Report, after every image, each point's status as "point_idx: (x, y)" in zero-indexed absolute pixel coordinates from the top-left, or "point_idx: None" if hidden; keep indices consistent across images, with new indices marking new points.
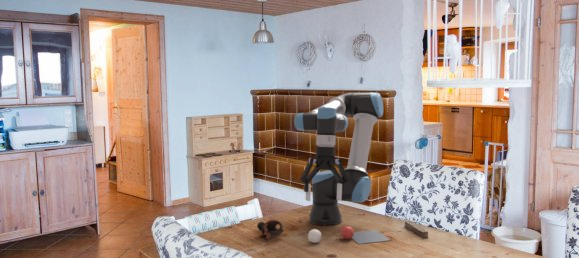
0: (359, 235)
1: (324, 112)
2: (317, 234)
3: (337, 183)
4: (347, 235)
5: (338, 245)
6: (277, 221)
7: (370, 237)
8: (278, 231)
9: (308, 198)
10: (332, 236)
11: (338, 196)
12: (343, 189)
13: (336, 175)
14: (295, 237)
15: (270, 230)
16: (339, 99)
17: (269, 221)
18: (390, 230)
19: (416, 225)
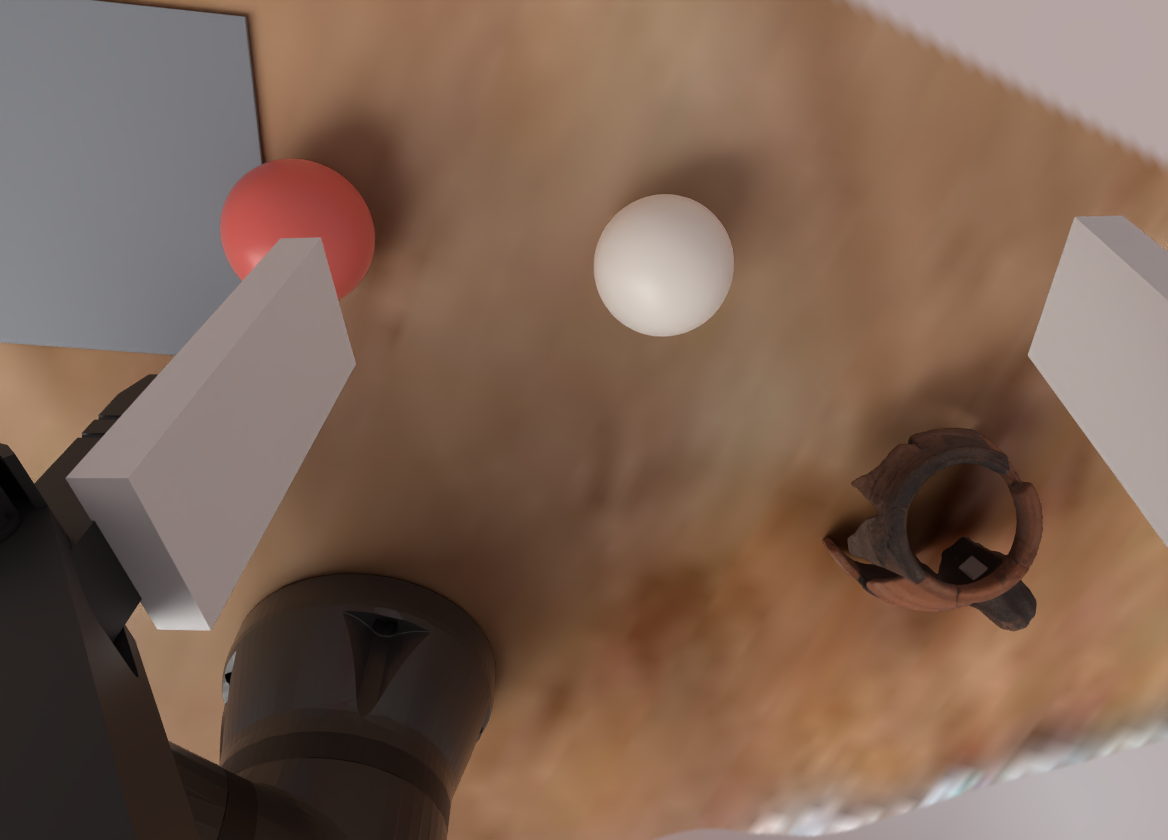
0: (168, 254)
1: None
2: (663, 217)
3: (206, 615)
4: (320, 167)
5: (467, 72)
6: (920, 569)
7: (60, 154)
8: (937, 452)
9: (1147, 248)
10: (435, 334)
11: (312, 334)
12: (109, 409)
13: (128, 787)
14: (749, 421)
15: (890, 572)
16: None
17: (988, 585)
18: None
19: None
